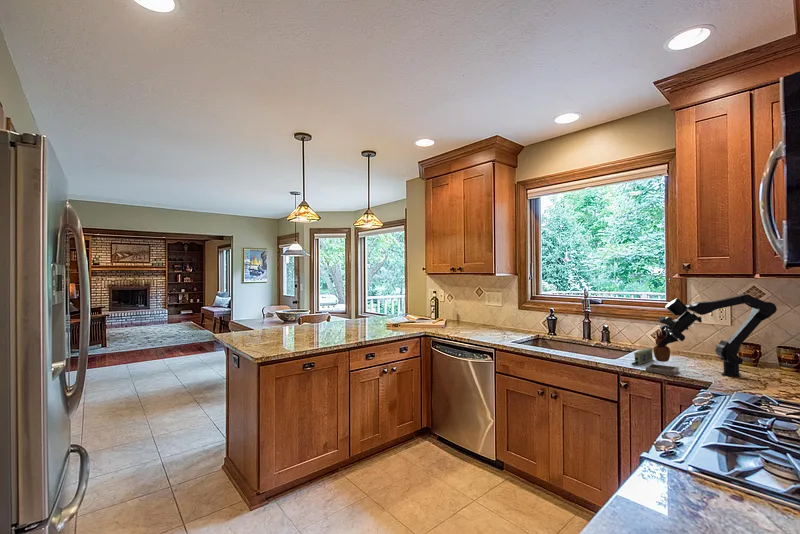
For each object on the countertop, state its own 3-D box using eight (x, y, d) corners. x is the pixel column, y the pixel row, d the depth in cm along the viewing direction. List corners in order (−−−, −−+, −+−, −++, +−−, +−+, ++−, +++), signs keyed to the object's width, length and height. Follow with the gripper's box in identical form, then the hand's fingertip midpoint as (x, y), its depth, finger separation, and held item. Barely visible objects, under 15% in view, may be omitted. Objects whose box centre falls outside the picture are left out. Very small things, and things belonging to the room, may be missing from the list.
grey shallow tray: (651, 367, 198) (651, 363, 198) (678, 371, 190) (678, 367, 190) (645, 371, 191) (645, 367, 191) (673, 375, 182) (673, 371, 182)
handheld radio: (654, 360, 216) (636, 367, 201) (647, 359, 219) (629, 366, 203) (653, 348, 217) (635, 354, 201) (646, 347, 219) (628, 353, 204)
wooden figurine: (654, 361, 189) (653, 331, 190) (653, 359, 194) (652, 329, 195) (671, 362, 186) (670, 331, 186) (669, 360, 191) (668, 330, 192)
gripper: (663, 309, 198) (639, 330, 202) (675, 312, 181) (649, 335, 184) (682, 324, 196) (657, 345, 199) (696, 329, 178) (669, 352, 181)
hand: (658, 344), depth 191 cm, fingers closed on wooden figurine, 5 cm apart
